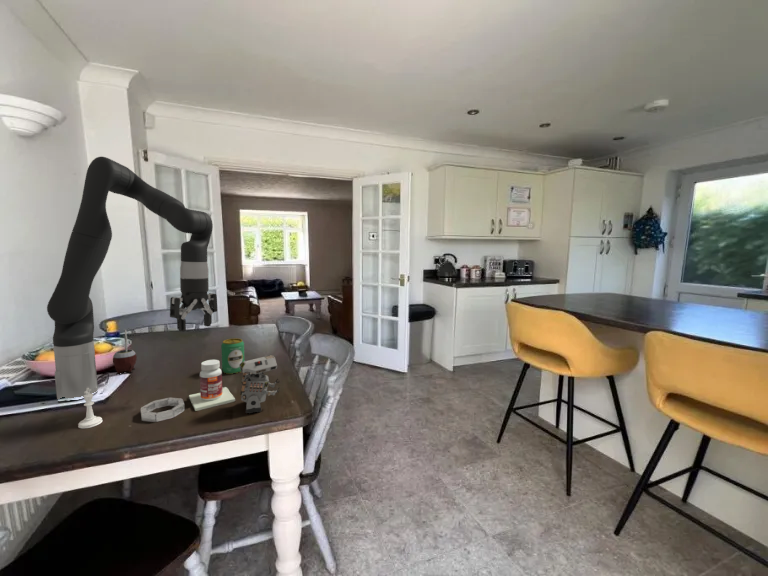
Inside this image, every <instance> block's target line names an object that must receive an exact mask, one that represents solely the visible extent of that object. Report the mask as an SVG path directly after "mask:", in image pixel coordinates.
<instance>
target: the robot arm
mask: <svg viewBox="0 0 768 576" xmlns="http://www.w3.org/2000/svg"><path fill="white" fill-rule="evenodd" d="M109 192H111V193H113V194H117V195H121V196H124V197H127V198H131V199H133V200H136V201H137V202H139V203H141V204H142V205H143V206H144V207H145V208H146V209H147V210H149V211H150V212H152V213H153V214H155V215H157V216H159V217H160V218H162V219H164V220H166V221H167V222H168V223H169V224H170V225H171V226H172V227H173V228H174V229H176V230H177V231H179V232H182V233H184V234H191V236H190V239H189V240H188V241H185V242H184V241H183V242H182V243H181V246H180V267H179V274H180V275H179V278H180V279H179V281H180V282H179V283H180V284H179V286H180V290H179V291H180V292H181V293H180V294H181V296H180V297H176V296H175V297H174V296H172V297H170V301H169V303H170V304H169V317H170V318H173V319H175V320H176V326H177V327H176V328H177V330H178V331H179V332H182V333H183V332H184V333H185V332H186V331H187V328H186V327H187V324H186V322H187V321H186V317H187V316H188V314H190V313H191V312H192V311H196V310H201V311H202V313H204V314H203V325H204V326H205V327H211V324H212V321H213V319H212V318H213V314H214V313H216V312H218V298H217V297H218V295H217V293H211V292H210V293H208V291H209V286H210V285H209V266H208V264H209V263H208V248H209V244H210V241H211V237H212V233H213V225H214V224H213V220H212V218H211V215H209V214H208V213H207V212H204V211H202V210H195V209H191V208H187V207H185V204H184V203H183V202H182V201H180V200H179V199H177V198H175V197H173V196H172V195H170V194H169V193H167V192H164V191H162V190H160V189H158V188H155V187H154V186H152V185H151V184H149V183H147V182H146V181H144V180H143V179H142V178H141V177H140V176H139V175H137V174H136V173H135V171H134V172H133V170H132V169H130V168H129V167H127V166H125V165H123V164H121V163H120V162H117V161H115V160H113V159H111V158H109V157H105V156H98V157H95V158H94V159H93V160H92V161H91V162H90V163H89V164H88V168H87V170H86V174H85V179H84V185H83V190H82V196H81V202H80V204H79V209H78V212H77V215H76V220H75V222H74V225H73V228H72V231H71V234H70V235H69V236H70V237H69V239H68V243H67V247H66V250H65V255H64V260H63V265H62V268H61V269H62V270H61V273H60V277H59V279H58V282H57V283H56V286H55V288H54V291H53V293H52V295H51V297H50V299H49V301H48V303H47V305H46V312H47V314H48V316H49V318H51V320H52V321H54V333H53V336H52V345H53V346H52V347H53V355H54V365H55V370H54V380H55V393H56V400H57V399H60V398H62V397H65V398H74V397H81V396H84V395H86V394H87V393H84V392H85V391H86V388H89V389H91V391H90V393H94V392H96V391H97V390H98V389H99V388H98V387H99V385H98V376H97V364H96V354H95V353H96V352H95V339H94V333H95V318H94V317H95V316H94V306H93V302H92V299H91V298H90V294H91V290H92V285H93V281H94V279H95V277H96V276H97V274H98V271H99V270H100V268H101V267H102V264H103V263H104V262H105V261H104V260H105V259H106V256H107V253H108V252H109V248H110V245H111V241H112V239H113V230H112V226H111V222H110V220H109V219H110V218H109V217H108V212H107V208H106V207H107V199H108V196H109ZM98 391H99V390H98Z"/></svg>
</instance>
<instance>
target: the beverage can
mask: <svg viewBox="0 0 768 576" xmlns="http://www.w3.org/2000/svg"><path fill="white" fill-rule="evenodd" d="M220 346H221V349H220V350H221V371H222V373H224V374H225V373H226V374H225V375H234V374H233V373H236V374H239V373H238V372H240V373H242V372H241V370H240V366H239V364H241V363H242V362H244V361H246V360H245V342H244V341H243V339H242V338H237V337H236V338H234V337H233V338H228V339H225V340H222V343H221V345H220Z"/></svg>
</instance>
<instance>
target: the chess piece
mask: <svg viewBox="0 0 768 576" xmlns="http://www.w3.org/2000/svg"><path fill="white" fill-rule="evenodd" d="M90 391H91V389H89V388H86V391H85V392H84V393H87V394H86V395H84V396H83V397H84V399H83V400H85V403H84V404H83V406H84V407H86V414H85V417H84V419H82V420H80V421H79V423H78V424H77V425H78V426H77V427H78V428H79V429H89V428H94V427H96V426H98V425H100V424H101V423H103V418H102V417H101V416H97V415H94V410H93V407H92V406H93V405H95V402H94V401H92V400H93V398H94V395H93V394H92V393H90Z"/></svg>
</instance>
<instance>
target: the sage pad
mask: <svg viewBox="0 0 768 576" xmlns="http://www.w3.org/2000/svg"><path fill="white" fill-rule="evenodd" d="M188 398H189V401H190V402H191V405H192V407H193V409H194V411H195V412H196V411H201V410H206V409H210V408H215V407H216V406H221V405H226V404H230V403H234V402H236V398H235V396H234V395H233V394H232V393H231V392H230V390H229V388H228V387H227V386H224V387H222V396H221V397H220V398H218V399H215V400H211V401H205V400H202V399H201V394H200V392H198V393H193V394H189V395H188Z"/></svg>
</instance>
